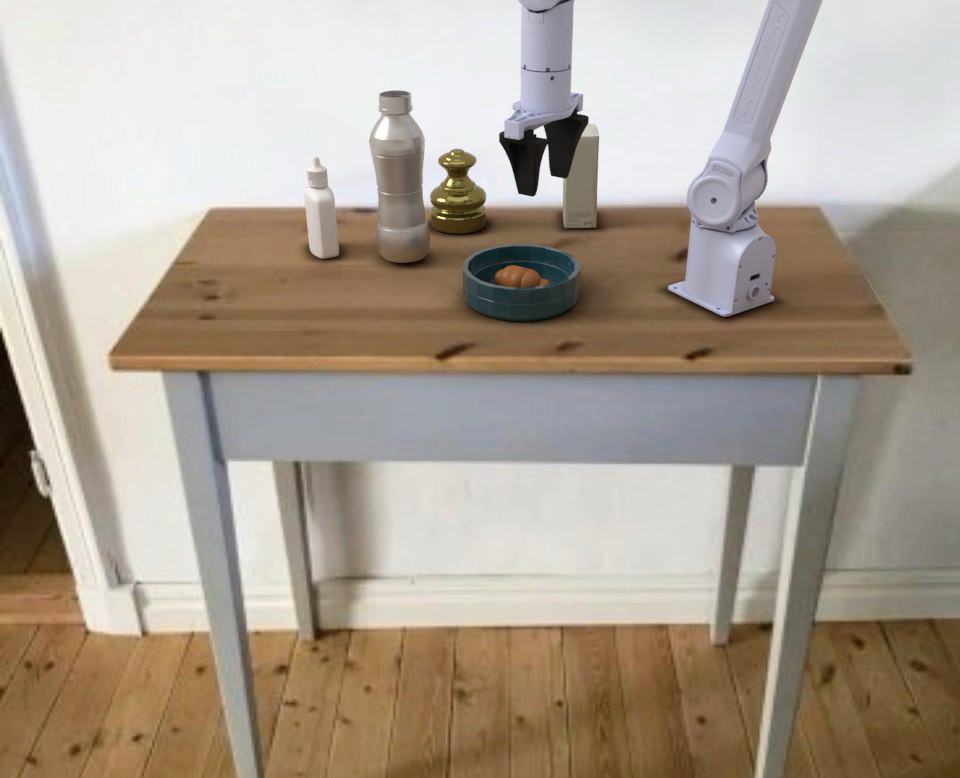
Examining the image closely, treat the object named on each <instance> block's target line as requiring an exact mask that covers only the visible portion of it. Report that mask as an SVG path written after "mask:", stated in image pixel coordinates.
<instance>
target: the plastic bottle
mask: <svg viewBox="0 0 960 778" xmlns="http://www.w3.org/2000/svg"><path fill="white" fill-rule="evenodd" d="M413 107H414V106H413V104H412V92H410V91H407V90H401V89H400V90H399V89H398V90H395V89H394V90H386V91H382V92H380V93H379V94H378V112H379V113H381V114H380V117H379V119H377V121H376V122H375V124H374V126H373V128H372V130H370V134H369V138H368V144H369V150H370V155H371V159H372V164H373V169H374V173H375V181H376V186H377V189H376V190H377V203H378V204H377V224H376V230H375V231H376V233H375V243H376V247H377V250H378V253H379V254H380V255H381V257H382V258H383V259H385V260H386V261H388V262H392V263H398V264H399V263H401V264H402V263H403V264H404V263H414V262H417V261H420V260H422V259H424V258H425V257H426V256H427V254H428V253H429V252H430V251H429V250H430V245H431V244H430V243H431V234H430V229H429V228H430V227H429V224H428V221H427V218H426V217H427V216H426V210H425V205H424V204H425V203H424V194H423V193H424V192H423V191H424V190H423V189H424V188H423V184H424V183H423V182H424V181H423V180H424V178H423V177H424V175H423V174H424V173H423V171H424V161H425V148H426V139H425V136H424V133H423V130H422V129H421V127H420V126H419V124H418V122H416V120H415V119H414V117H413V116H412V115H411V112H412V111H413V110H414V109H413Z"/></svg>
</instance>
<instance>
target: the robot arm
mask: <svg viewBox="0 0 960 778" xmlns="http://www.w3.org/2000/svg"><path fill="white" fill-rule="evenodd" d="M517 1H518V3H520V6H521V7H520V8H521V9H520V11H521V14H520V15H521V18H520V19H521V20H520V21H521V22H520V100H517V101H515V102H513V103H512V104H511V105H512V108H511V109H512V110H513V113H512V114H511V116H510V117H508V118H506V119H505V120H504V121H503V122H504V124H503V125H504V127H503V128H504V130H503V131H501V132H499V134H498V142H499V143H500V145H501V147H502V148H503V150H504V152H505V154H506V157H507V159H508V162H509V163H510V167H511V169H512V173H513V178H514V181H515V186H516V190H517V194H518V195H523V196H527V197H534V196H536V195H537V192H538V188H539V181H540V172H541V166H542V161H543V157H544V154H545V151H546V149H547V151H548V152H547V153H548V169H549V172H550V176H551V177H555V178H560V179H563V178H565V179H566V178H567V177H568V175H569V172H570V169H571V165H572V161H573V157H574V154H575V151H576V148H577V145H578V142H579V140H580V138H581V135H582V133H583V132H584V130H585V128H586V126H587V125H588V124H589V116H588V115H586V114H581V113H580V112H582V111H583V108H584V94H583V93H579V92H572V72H573V71H572V69H573V68H572V65H573V37H574V36H573V35H574V6H575V5H574V3H575V0H517ZM822 4H823V0H767V3H766V7H765V9H764V11H763V15H762V18H761V21H760V24H759V27H758V29H757V32H756V35H755V38H754V41H753V43H752V46H751V48H750V49H751V50H750V52H749V56H748V58H747V61H746V64H745V67H744V69H743V72H742V75H741V78H740V81H739V84H738V86H737V89H736V93H735V96H734V99H733V101H732V104H731V107H730V109H729V113H728V115H727V117H726V121H725V124H724V127H723V130H722V132H721V134H720V136H719V138H718V139H717V141H716V143H715V144H714V146H713V148H712V150H711V151H710V153H709V155H708V157H707V161H706V163H705V166H704V167H703V169H702V170H701V172H700V173H699V174H697V176H695V177H694V178H693V180H692V181H691V182H690V184H689V186H688V188H687V191H686V192H687V193H686V204H687V208H688V211H689V213H690V215H691V218H690V227H689V236H688V237H689V238H688V248H687V256H686V257H687V258H686V266H685V267H686V268H685V278H684V280H681V281H679V282H676V283H673V284H669V285H668V286H667V291H669V292H672V293H674V294H675V295H677V296H679V297H681V298H684V299H685V300H688V301H689V302H692V303H694V304H696V305H699V306H700V307H702V308H704V309H706V310H708V311H709V312H710V311H711V312H713V313H714V314H715V315H718V316H721V317H724V318H727V317H731V316H733V315H737V314H740V313H742V312H746V311H749V310H752V309H755V308H757V307H760V306H763V305H766V304H769V303H772V302H774V301H775V296H774V295H772V294H771V291H772V286H773V285H772V284H773V278H774V272H775V265H776V258H777V245H776V243H775V240H774V238H773V237H772V236H770V235H768V234H766V232H764V231H763V229H762V228H761V226H760V224H759V214H758V209H757V206H756V201H757V200H758V199H759V198H761V196H762V195H763V194H764V193H765V191H766V188H767V186H768V182H769V173H768V160H769V156H770V154H771V150H772V142H771V138H772V135H773V133H774V130H775V127H776V124H777V122H778V120H779V117H780V115H781V111H782V109H783V106H784V104H785V101H786V99H787V95H788V93H789V90H790V88H791V85H792V83H793V80H794V77H795V75H796V72H797V69H798V66H799V65H800V62H801V60H802V59H801V58H802V56H803V54H804V51H805V48H806V45H807V43H808V41H809V38H810V35H811V33H812V30H813V27H814V25H815V22H816V20H817V16H818V13H819V12H820V10H821V9H820V8H821V6H822ZM541 127H543V130H544V133H545V137H546V138H545V137H538V136H537V133H535V130H537V129H539V128H541Z"/></svg>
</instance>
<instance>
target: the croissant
mask: <svg viewBox="0 0 960 778" xmlns="http://www.w3.org/2000/svg"><path fill="white" fill-rule="evenodd" d="M494 279H495V283H496V285H499V286H506V287H537V286H545V285H549V284H551V283H550V281H548V280H547V279H541V277H540V275H539V274H538V273H537V272H536V271H535V270H532V269H528V268H524V267H520V266H515V265H511V266H508V267H506V268H504V269H502V270H499V271H498V272H497V273H496V274H495V277H494Z"/></svg>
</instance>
